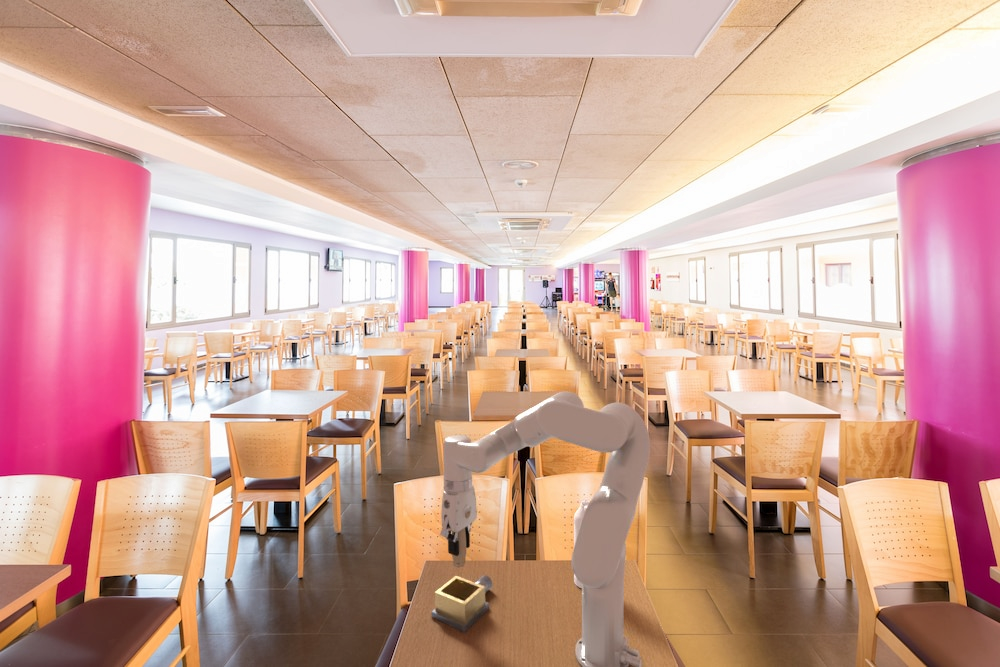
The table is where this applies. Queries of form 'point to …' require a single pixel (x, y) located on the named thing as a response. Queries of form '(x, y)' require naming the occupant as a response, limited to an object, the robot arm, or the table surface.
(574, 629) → the table surface
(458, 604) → the socket
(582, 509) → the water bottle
